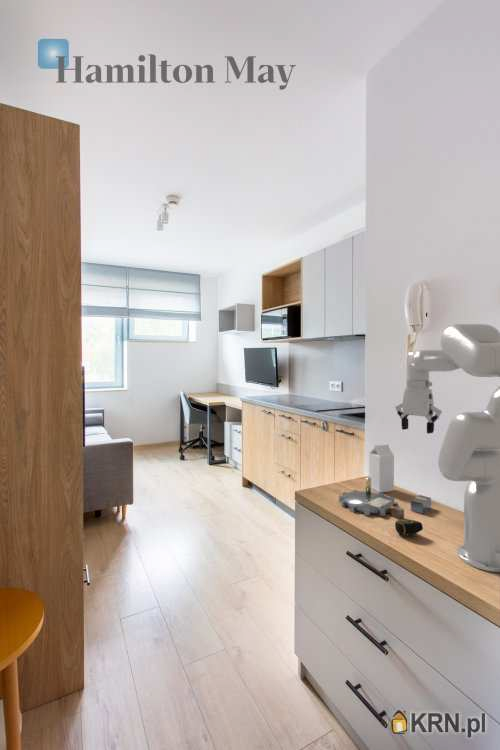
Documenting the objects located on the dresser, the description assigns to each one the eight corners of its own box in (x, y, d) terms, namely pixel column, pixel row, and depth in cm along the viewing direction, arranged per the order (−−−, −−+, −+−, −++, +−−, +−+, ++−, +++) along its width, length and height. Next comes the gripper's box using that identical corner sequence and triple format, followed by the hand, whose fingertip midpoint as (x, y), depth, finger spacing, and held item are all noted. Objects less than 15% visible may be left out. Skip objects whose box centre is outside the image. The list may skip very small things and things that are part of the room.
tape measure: (425, 533, 109) (422, 520, 110) (408, 538, 107) (406, 525, 107) (407, 529, 115) (405, 517, 116) (391, 534, 113) (389, 521, 113)
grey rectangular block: (430, 508, 132) (430, 497, 132) (422, 514, 127) (422, 502, 127) (419, 505, 135) (419, 494, 135) (410, 511, 130) (411, 499, 130)
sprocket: (378, 493, 147) (378, 474, 146) (409, 514, 126) (410, 491, 126) (330, 496, 143) (330, 476, 143) (354, 518, 122) (355, 495, 122)
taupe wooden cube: (403, 517, 124) (404, 509, 124) (399, 519, 122) (399, 510, 122) (396, 514, 126) (396, 506, 126) (392, 516, 125) (392, 507, 125)
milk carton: (393, 491, 150) (394, 446, 150) (379, 493, 148) (379, 447, 147) (382, 485, 157) (383, 442, 156) (368, 487, 155) (369, 443, 154)
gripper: (446, 385, 127) (446, 433, 128) (402, 383, 142) (401, 426, 142) (435, 386, 123) (435, 435, 124) (390, 384, 137) (390, 428, 138)
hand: (417, 431), depth 133 cm, fingers open, 9 cm apart
